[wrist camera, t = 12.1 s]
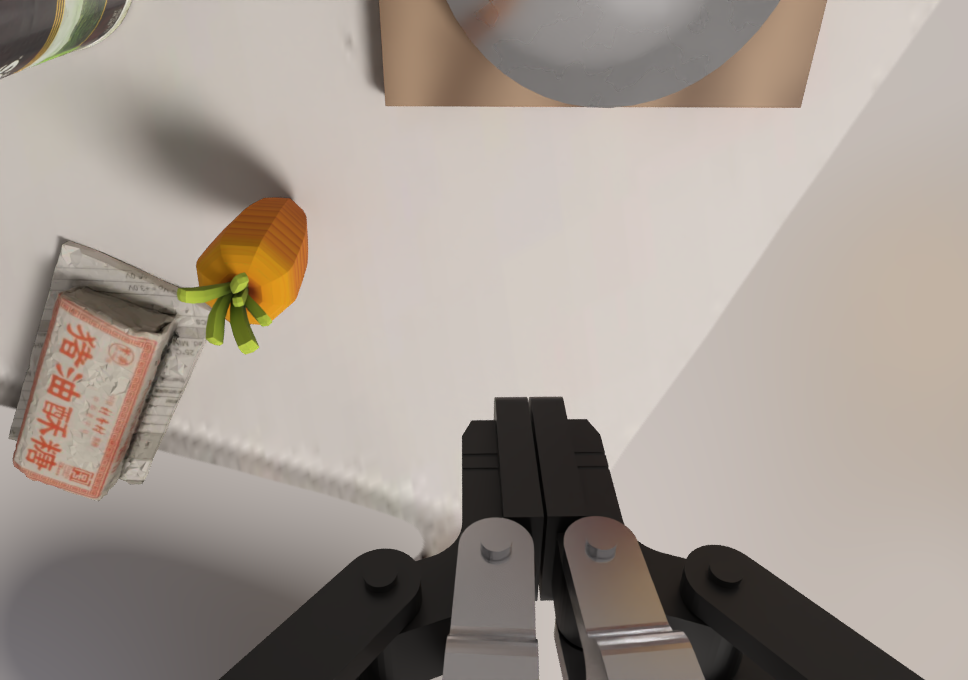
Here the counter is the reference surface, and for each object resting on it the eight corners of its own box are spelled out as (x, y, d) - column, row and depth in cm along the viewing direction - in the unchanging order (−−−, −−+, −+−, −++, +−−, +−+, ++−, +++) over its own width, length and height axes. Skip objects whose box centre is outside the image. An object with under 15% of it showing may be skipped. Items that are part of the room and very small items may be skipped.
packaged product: (124, 521, 51) (-23, 473, 48) (149, 475, 55) (16, 428, 52) (201, 338, 43) (30, 267, 40) (224, 300, 47) (70, 233, 44)
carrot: (233, 181, 42) (134, 301, 29) (308, 155, 41) (241, 267, 28) (272, 252, 44) (196, 391, 32) (343, 228, 44) (295, 361, 31)
